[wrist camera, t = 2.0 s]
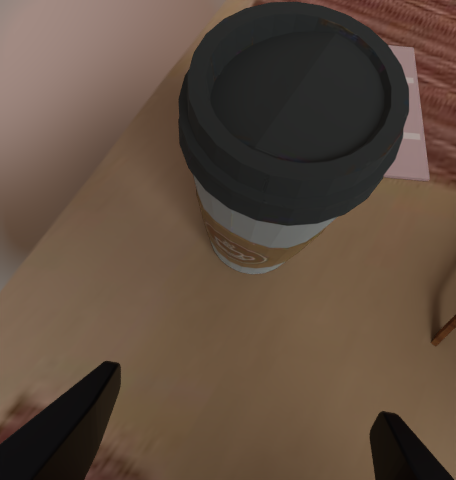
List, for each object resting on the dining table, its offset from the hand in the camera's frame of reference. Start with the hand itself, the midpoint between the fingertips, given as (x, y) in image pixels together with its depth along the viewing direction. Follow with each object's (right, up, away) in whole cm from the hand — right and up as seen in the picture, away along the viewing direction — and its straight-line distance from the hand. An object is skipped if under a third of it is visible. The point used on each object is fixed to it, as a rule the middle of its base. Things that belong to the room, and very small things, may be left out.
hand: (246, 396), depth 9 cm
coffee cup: (+1, +5, +16) cm, 17 cm away
